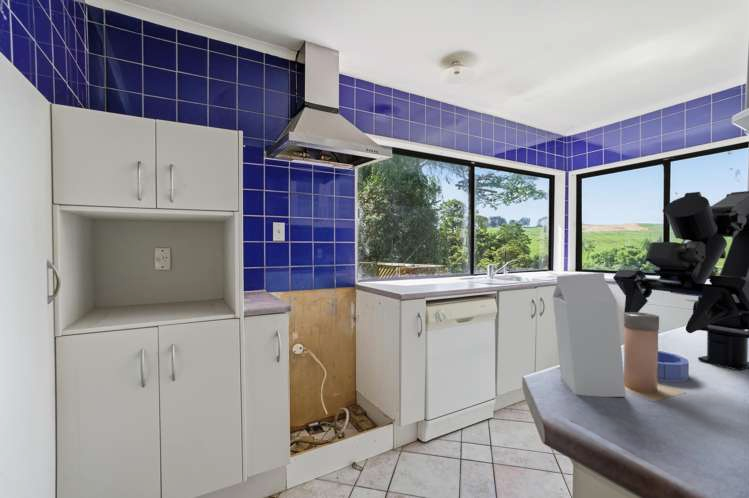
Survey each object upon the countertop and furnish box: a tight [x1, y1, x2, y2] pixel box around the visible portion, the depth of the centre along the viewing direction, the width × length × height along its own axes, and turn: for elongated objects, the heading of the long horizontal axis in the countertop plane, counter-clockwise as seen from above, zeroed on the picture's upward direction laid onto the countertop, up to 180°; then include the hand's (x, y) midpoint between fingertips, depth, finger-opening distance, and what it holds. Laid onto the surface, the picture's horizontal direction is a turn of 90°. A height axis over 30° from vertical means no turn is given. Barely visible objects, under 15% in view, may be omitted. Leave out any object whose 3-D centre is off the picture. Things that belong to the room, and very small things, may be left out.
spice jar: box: [623, 311, 660, 393], centre depth 56 cm, size 5×5×12 cm
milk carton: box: [552, 272, 627, 398], centre depth 57 cm, size 7×7×19 cm
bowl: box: [658, 350, 690, 383], centre depth 63 cm, size 9×9×4 cm
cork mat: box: [625, 383, 686, 402], centre depth 57 cm, size 8×8×1 cm
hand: (654, 324), depth 58 cm, fingers open, 9 cm apart
